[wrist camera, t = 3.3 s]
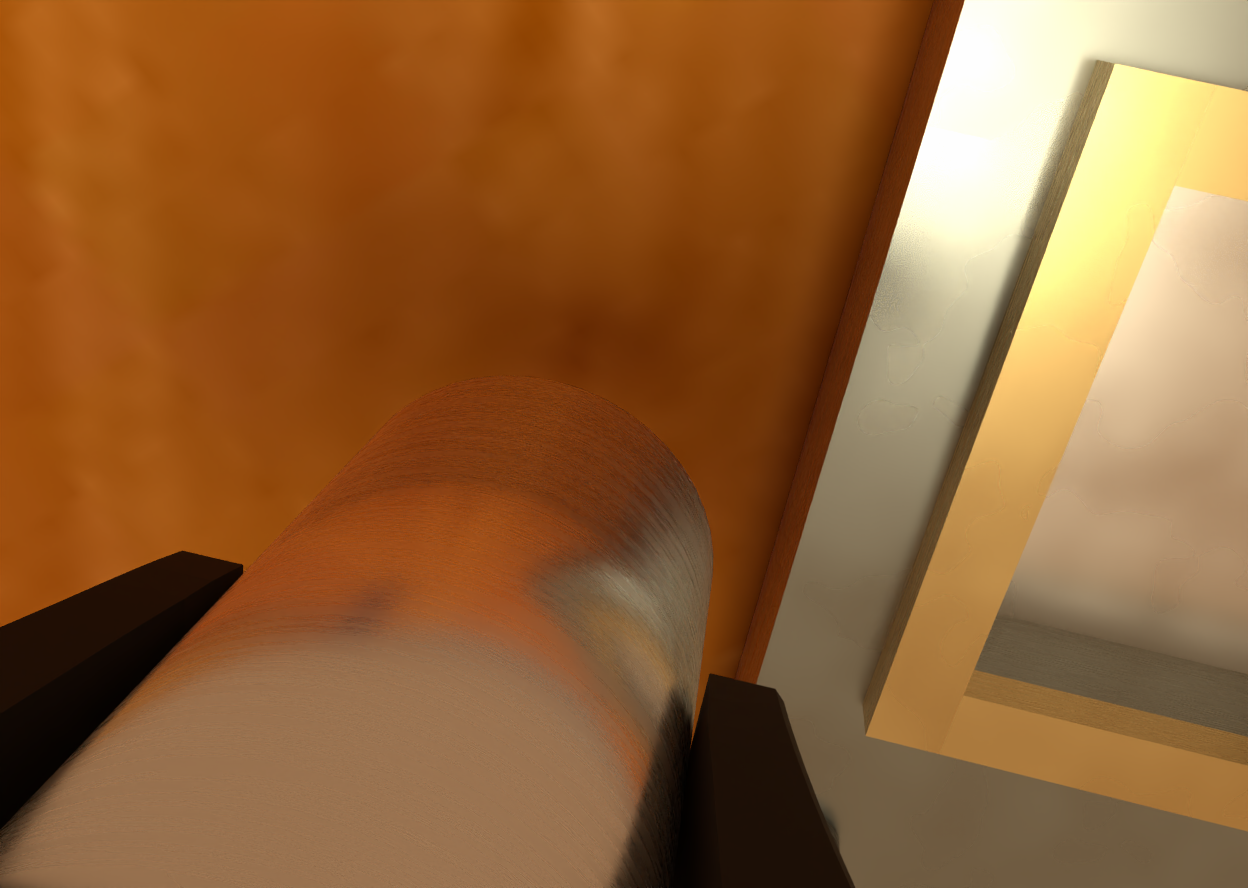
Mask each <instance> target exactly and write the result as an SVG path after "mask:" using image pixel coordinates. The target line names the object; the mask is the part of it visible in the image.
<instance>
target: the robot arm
mask: <svg viewBox="0 0 1248 888" xmlns="http://www.w3.org/2000/svg"><path fill="white" fill-rule="evenodd" d="M242 574H243V565H242V564H237V563H233V562H229V561H224V560H220V559H216V558H211V557H207V556H203V555H199V554H194V553H190V552H186V551H180V552H177V553H175V554H172V555H169V556H166V557H164V558H161V559H158V560H156V561H153V562H151V563H148V564H146V565H144V566H141V567H139V568H136V569H134V570H132V571H129V572H127V573H125V574H122V575H120V576H118V577H115V578H113V579H111V580H108V581H106V582H104V583H101V584H99V585H97V586H94V587H92V588H90V589H88V590H85V591H83V592H81V593H78V594H76V595H74V596H72V597H69V598H67V599H65V600H63V601H60V602H58V603H56V604H53V605H51V606H49V607H46V608H44V609H42V610H39V611H37V612H35V613H32V614H30V615H28V616H25V617H23V618H21V619H18V620H16V621H14V622H12V623H9V624H7V625H5V626H2V627H0V830H1V828H2V827H3V826H4V825H5V824H6V823H7V822H8V821H9V820H10V819H11V818H12V817H13V816H14V815H15V814H16V813H17V812H18V811H19V809H20V808H21V807H22V806H23V805H24V804H25V803H26V802H27V801H28V800H29V799H30V798H31V797H32V796H33V795H34V794H35V793H36V792H37V791H38V789H39V788H40V787H41V786H42V785H43V784H44V783H45V782H46V781H47V780H48V779H49V778H50V777H51V776H52V775H53V774H54V773H55V772H56V770H57V769H58V768H59V767H60V766H61V765H62V764H63V763H64V762H65V761H66V760H67V759H68V758H69V757H70V756H71V755H72V754H73V753H74V752H75V750H76V749H77V748H78V747H79V746H80V745H81V744H82V743H83V742H84V741H85V740H86V739H87V738H88V737H89V736H90V735H91V734H92V733H93V731H94V730H95V729H96V728H97V727H98V726H99V725H100V724H101V723H102V722H103V721H104V720H105V719H106V718H107V717H108V716H109V715H110V714H111V713H112V711H113V710H114V709H115V708H116V707H117V706H118V705H119V704H120V703H121V702H122V701H123V700H124V699H125V698H126V697H127V696H128V695H129V694H130V692H131V691H132V690H133V689H134V688H135V687H136V686H137V685H138V684H139V683H140V682H141V681H142V680H143V679H144V678H145V677H146V676H147V675H148V674H149V672H150V671H151V670H152V669H153V668H154V667H155V666H156V665H157V664H158V663H159V662H160V661H161V660H162V659H163V658H164V657H165V656H166V655H167V653H168V652H169V651H170V650H171V649H172V648H173V647H174V646H175V645H176V644H177V643H178V642H179V641H180V640H181V639H182V638H183V637H184V636H185V634H186V633H187V632H188V631H189V630H190V629H191V628H192V627H193V626H194V625H195V624H196V623H197V622H198V621H199V620H200V619H201V618H202V617H203V616H204V614H205V613H206V612H207V611H208V610H209V609H210V608H211V607H212V606H213V605H214V604H215V603H216V602H217V601H218V600H219V599H220V598H221V597H222V595H223V594H224V593H225V592H226V591H227V590H228V589H229V588H230V587H231V586H232V585H233V584H234V583H235V582H236V581H237V580H238V579H239V578H240V577H241V575H242ZM672 888H855V885H854V883H853V881H852V879H851V876H850V874H849V872H848V870H847V867H846V865H845V863H844V861H843V858H842V856H841V854H840V852H839V849H838V847H837V845H836V843H835V840H834V838H833V836H832V834H831V831H830V829H829V827H828V824H827V822H826V819H825V817H824V814H823V812H822V810H821V807H820V805H819V802H818V800H817V797H816V794H815V792H814V789H813V786H812V784H811V781H810V779H809V776H808V773H807V771H806V768H805V765H804V762H803V760H802V757H801V754H800V751H799V748H798V745H797V742H796V739H795V736H794V733H793V730H792V727H791V724H790V721H789V718H788V714H787V711H786V707H785V703H784V701H783V700H782V698H781V696H780V695H779V693H778V692H777V690H776V689H774V688H770V687H766V686H761V685H757V684H753V683H749V682H744V681H740V680H736V679H731V678H727V677H723V676H719V675H714V674H709V678H708V682H707V686H706V690H705V694H704V698H703V702H702V706H701V710H700V714H699V718H698V721H697V725H696V729H695V733H694V737H693V741H692V745H691V749H690V754H689V762H688V770H687V777H686V785H685V793H684V800H683V808H682V816H681V824H680V831H679V839H678V847H677V855H676V862H675V870H674V878H673V886H672Z"/></svg>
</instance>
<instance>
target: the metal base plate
mask: <svg viewBox="0 0 1248 888" xmlns="http://www.w3.org/2000/svg"><path fill="white" fill-rule="evenodd" d="M735 679H736V680H740V681H744V682H749V683H753V684H757V685H761V686H766V687H770V688H774V689H776V690H777V692H778V693H779V695H780V696H781V698H782V700H783V701H784V703H785V707H786V711H787V714H788V718H789V721H790V724H791V727H792V730H793V733H794V736H795V739H796V742H797V745H798V748H799V751H800V754H801V757H802V760H803V762H804V765H805V768H806V771H807V773H808V776H809V779H810V781H811V784H812V786H813V789H814V792H815V794H816V797H817V800H818V802H819V805H820V807H821V810H822V812H823V814H824V817H825V819H826V822H827V824H828V827H829V829H830V831H831V834H832V836H833V838H834V840H835V843H836V845H837V847H838V849H839V852H840V854H841V856H842V858H843V861H844V863H845V865H846V867H847V870H848V872H849V874H850V876H851V879H852V881H853V883H854V885H855V888H1248V0H934V2H933V5H932V9H931V12H930V16H929V19H928V23H927V26H926V29H925V33H924V36H923V40H922V43H921V46H920V50H919V53H918V57H917V60H916V63H915V67H914V70H913V74H912V77H911V80H910V84H909V87H908V91H907V94H906V97H905V101H904V104H903V108H902V111H901V114H900V118H899V121H898V125H897V128H896V132H895V135H894V138H893V142H892V145H891V149H890V152H889V155H888V159H887V162H886V166H885V169H884V172H883V176H882V179H881V183H880V186H879V189H878V193H877V196H876V200H875V203H874V206H873V210H872V213H871V217H870V220H869V223H868V227H867V230H866V234H865V237H864V241H863V244H862V247H861V251H860V254H859V258H858V261H857V264H856V268H855V271H854V275H853V278H852V281H851V285H850V288H849V292H848V295H847V298H846V302H845V305H844V309H843V312H842V315H841V319H840V322H839V326H838V329H837V332H836V336H835V339H834V343H833V346H832V350H831V353H830V356H829V360H828V363H827V367H826V370H825V373H824V377H823V380H822V384H821V387H820V390H819V394H818V397H817V401H816V404H815V407H814V411H813V414H812V418H811V421H810V424H809V428H808V431H807V435H806V438H805V441H804V445H803V448H802V452H801V455H800V458H799V462H798V465H797V469H796V472H795V476H794V479H793V482H792V486H791V489H790V493H789V496H788V499H787V503H786V506H785V510H784V513H783V516H782V520H781V523H780V527H779V530H778V533H777V537H776V540H775V544H774V547H773V550H772V554H771V557H770V561H769V564H768V567H767V571H766V574H765V578H764V581H763V585H762V588H761V591H760V595H759V598H758V602H757V605H756V608H755V612H754V615H753V619H752V622H751V625H750V629H749V632H748V636H747V639H746V642H745V646H744V649H743V653H742V656H741V659H740V663H739V666H738V670H737V673H736V676H735Z"/></svg>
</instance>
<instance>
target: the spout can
mask: <svg viewBox="0 0 1248 888" xmlns="http://www.w3.org/2000/svg"><path fill="white" fill-rule="evenodd" d="M712 575H713V549H712V540H711V532H710V528H709V524H708V520H707V517H706V513H705V509H704V507H703V505H702V502H701V500H700V498H699V495H698V493H697V490H696V488H695V486H694V485H693V483H692V481H691V480H690V478H689V476H688V474H687V473H686V471H685V469H684V468H683V466H682V465H681V464H680V462H679V461H678V460H677V459H676V457H675V456H674V455H673V453H672V452H671V451H670V450H669V448H668V447H667V446H666V445H665V444H664V443H663V442H662V441H661V440H660V439H659V438H658V437H657V436H656V435H655V434H654V433H653V432H652V431H651V430H650V429H649V428H647V427H646V426H645V425H644V424H642V423H641V422H640V421H638V420H637V419H636V418H634V417H633V416H632V415H630V414H629V413H628V412H626V411H624V410H623V409H621V408H619V407H618V406H616V405H614V404H613V403H611V402H609V401H607V400H606V399H604V398H601V397H599V396H597V395H595V394H592V393H590V392H588V391H585V390H583V389H581V388H577V387H574V386H571V385H567V384H564V383H561V382H557V381H553V380H547V379H541V378H535V377H530V376H507V375H502V376H490V377H479V378H474V379H469V380H465V381H460V382H456V383H453V384H450V385H447V386H444V387H442V388H439V389H436V390H434V391H431V392H429V393H428V394H426V395H424V396H422V397H420V398H418V399H417V400H415V401H413V402H411V403H410V404H409V405H407V406H406V407H405V408H403V409H402V410H401V411H399V412H398V413H397V414H395V415H394V416H393V417H392V418H391V419H390V420H389V421H388V422H387V423H386V424H385V425H384V426H383V427H382V428H381V429H380V430H379V431H378V432H377V433H376V434H375V435H374V436H373V437H372V438H371V439H370V441H369V442H368V443H367V444H366V445H365V446H364V447H363V448H362V449H361V450H360V451H359V452H358V453H357V454H356V455H355V456H354V457H353V458H352V460H351V461H350V462H349V463H348V464H347V465H346V466H345V467H344V468H343V469H342V470H341V471H340V472H339V473H338V474H337V475H336V476H335V477H334V478H333V480H332V481H331V482H330V483H329V484H328V485H327V486H326V487H325V488H324V489H323V490H322V491H321V492H320V493H319V494H318V495H317V496H316V497H315V499H314V500H313V501H312V502H311V503H310V504H309V505H308V506H307V507H306V508H305V509H304V510H303V511H302V512H301V513H300V514H299V515H298V516H297V517H296V519H295V520H294V521H293V522H292V523H291V524H290V525H289V526H288V527H287V528H286V529H285V530H284V531H283V532H282V533H281V534H280V535H279V536H278V538H277V539H276V540H275V541H274V542H273V543H272V544H271V545H270V546H269V547H268V548H267V549H266V550H265V551H264V552H263V553H262V554H261V555H260V556H259V558H258V559H257V560H256V561H255V562H254V563H253V564H252V565H251V566H250V567H249V568H248V569H247V570H246V571H245V572H244V573H243V574H242V575H241V577H240V578H239V579H238V580H237V581H236V582H235V583H234V584H233V585H232V586H231V587H230V588H229V589H228V590H227V591H226V592H225V593H224V594H223V595H222V597H221V598H220V599H219V600H218V601H217V602H216V603H215V604H214V605H213V606H212V607H211V608H210V609H209V610H208V611H207V612H206V613H205V614H204V616H203V617H202V618H201V619H200V620H199V621H198V622H197V623H196V624H195V625H194V626H193V627H192V628H191V629H190V630H189V631H188V632H187V633H186V634H185V636H184V637H183V638H182V639H181V640H180V641H179V642H178V643H177V644H176V645H175V646H174V647H173V648H172V649H171V650H170V651H169V652H168V653H167V655H166V656H165V657H164V658H163V659H162V660H161V661H160V662H159V663H158V664H157V665H156V666H155V667H154V668H153V669H152V670H151V671H150V672H149V674H148V675H147V676H146V677H145V678H144V679H143V680H142V681H141V682H140V683H139V684H138V685H137V686H136V687H135V688H134V689H133V690H132V691H131V692H130V694H129V695H128V696H127V697H126V698H125V699H124V700H123V701H122V702H121V703H120V704H119V705H118V706H117V707H116V708H115V709H114V710H113V711H112V713H111V714H110V715H109V716H108V717H107V718H106V719H105V720H104V721H103V722H102V723H101V724H100V725H99V726H98V727H97V728H96V729H95V730H94V731H93V733H92V734H91V735H90V736H89V737H88V738H87V739H86V740H85V741H84V742H83V743H82V744H81V745H80V746H79V747H78V748H77V749H76V750H75V752H74V753H73V754H72V755H71V756H70V757H69V758H68V759H67V760H66V761H65V762H64V763H63V764H62V765H61V766H60V767H59V768H58V769H57V770H56V772H55V773H54V774H53V775H52V776H51V777H50V778H49V779H48V780H47V781H46V782H45V783H44V784H43V785H42V786H41V787H40V788H39V789H38V791H37V792H36V793H35V794H34V795H33V796H32V797H31V798H30V799H29V800H28V801H27V802H26V803H25V804H24V805H23V806H22V807H21V808H20V809H19V811H18V812H17V813H16V814H15V815H14V816H13V817H12V818H11V819H10V820H9V821H8V822H7V823H6V824H5V825H4V826H3V827H2V828H1V830H0V888H672V886H673V878H674V870H675V862H676V855H677V847H678V839H679V831H680V824H681V816H682V808H683V800H684V793H685V785H686V777H687V770H688V762H689V754H690V746H691V739H692V731H693V723H694V715H695V708H696V700H697V692H698V684H699V677H700V669H701V661H702V653H703V646H704V638H705V630H706V622H707V615H708V607H709V599H710V591H711V584H712Z"/></svg>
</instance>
